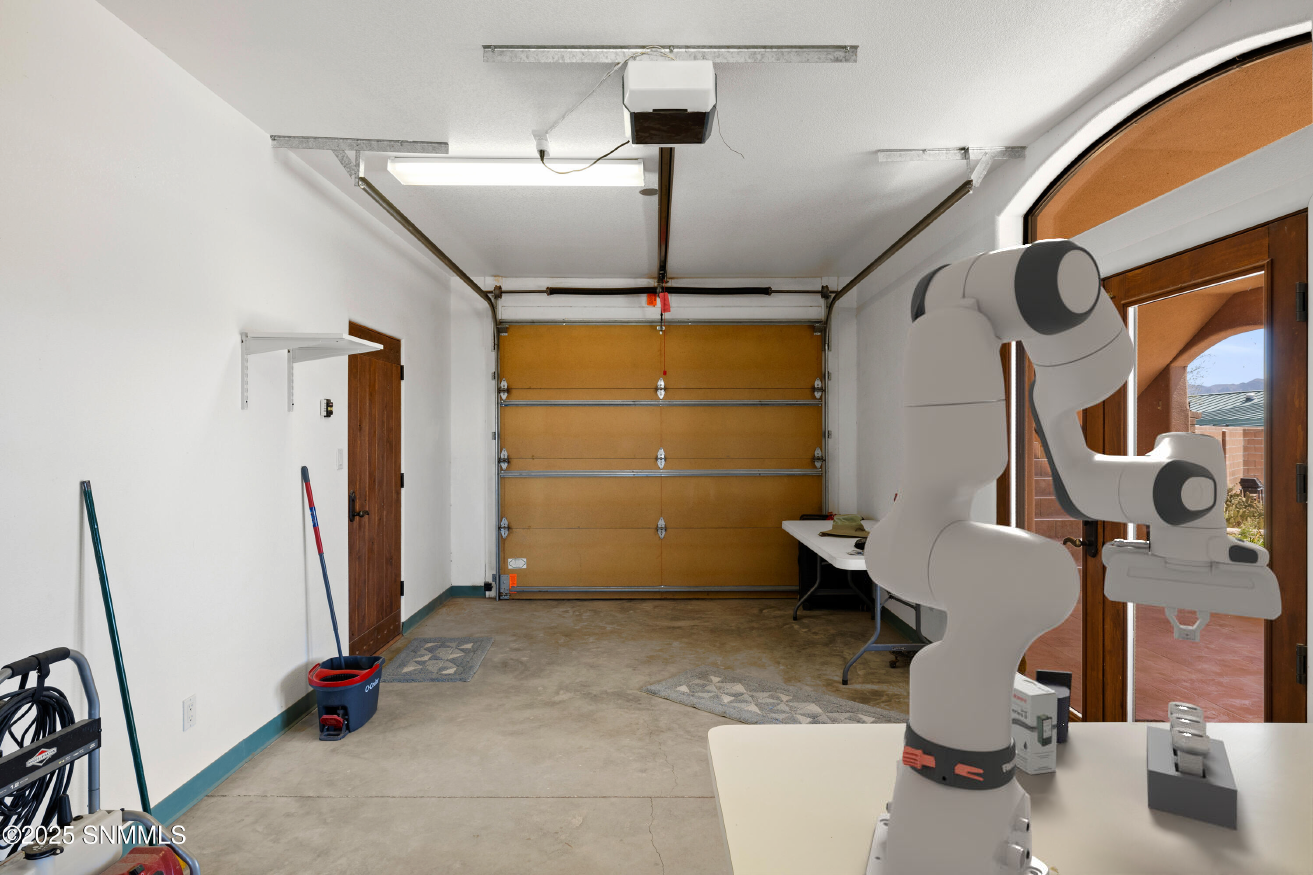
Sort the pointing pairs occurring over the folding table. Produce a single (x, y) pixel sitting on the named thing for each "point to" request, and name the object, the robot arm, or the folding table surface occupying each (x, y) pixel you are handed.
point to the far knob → (1184, 709)
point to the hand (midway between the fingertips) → (1186, 639)
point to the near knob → (1190, 749)
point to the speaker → (1058, 697)
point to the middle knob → (1187, 723)
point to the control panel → (1190, 782)
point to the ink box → (1034, 725)
